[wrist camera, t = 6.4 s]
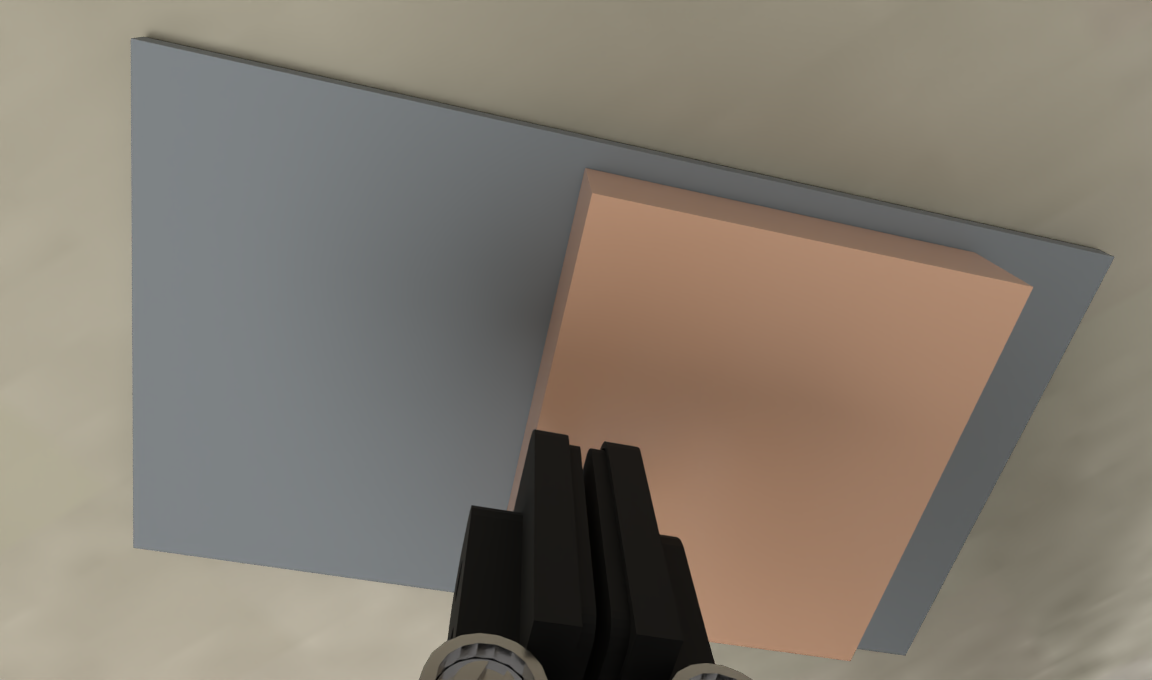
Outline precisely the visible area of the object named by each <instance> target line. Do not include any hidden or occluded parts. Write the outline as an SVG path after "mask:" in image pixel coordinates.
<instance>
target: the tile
mask: <svg viewBox="0 0 1152 680" xmlns="http://www.w3.org/2000/svg"><path fill="white" fill-rule="evenodd" d="M1032 289H1033V287H1032V286H1031V285H1029V284H1027V283H1026V282H1024V281H1022V280H1021V279H1019V278H1017V277H1015V276H1014V275H1012V274H1010V273H1009V272H1007V271H1005V270H1004V269H1002V268H1000V267H999V266H997V265H995V264H993V263H992V262H990V261H988V260H987V259H985V258H983V257H982V256H980V255H978V254H976V253H975V252H970V251H966V250H961V249H957V248H952V247H947V246H943V245H938V244H933V243H929V242H924V241H920V240H915V239H910V238H906V237H901V236H897V235H892V234H887V233H883V232H878V231H874V230H869V229H864V228H860V227H855V226H851V225H846V224H841V223H837V222H832V221H828V220H823V219H818V218H814V217H809V216H805V215H800V214H795V213H791V212H786V211H782V210H777V209H772V208H768V207H763V206H759V205H754V204H749V203H745V202H740V201H736V200H731V199H726V198H722V197H717V196H713V195H708V194H703V193H699V192H694V191H689V190H685V189H680V188H676V187H671V186H666V185H662V184H657V183H653V182H648V181H643V180H639V179H634V178H630V177H625V176H620V175H616V174H611V173H607V172H602V171H597V170H593V169H588V168H585V170H584V175H583V179H582V184H581V188H580V192H579V197H578V201H577V205H576V210H575V214H574V219H573V223H572V227H571V232H570V236H569V240H568V245H567V249H566V254H565V258H564V262H563V267H562V271H561V276H560V280H559V284H558V289H557V293H556V297H555V302H554V306H553V311H552V315H551V319H550V324H549V328H548V332H547V337H546V341H545V346H544V350H543V354H542V359H541V363H540V367H539V372H538V376H537V381H536V385H535V389H534V394H533V398H532V402H531V407H530V411H529V416H528V420H527V424H526V429H525V433H524V438H523V442H522V446H521V451H520V455H519V459H518V464H517V468H516V473H515V477H514V481H513V486H512V490H511V494H510V499H509V503H508V508H507V511H514V506H515V502H516V498H517V493H518V489H519V485H520V480H521V476H522V472H523V468H524V463H525V459H526V455H527V450H528V446H529V442H530V438H531V434H532V431H533V430H534V429H536V430H542V431H547V432H553V433H559V434H565V435H568V436H569V445H575V446H580V448H581V457H582V467H583V466H584V463H585V459H586V456H587V452H588V450H589V449H590V448H593V449H599V450H600V448H601V446H602V444H603V442H604V441H606V442H612V443H618V444H624V445H630V446H636V447H639V448H640V451H641V455H642V459H643V464H644V468H645V473H646V477H647V481H648V486H649V490H650V494H651V499H652V503H653V508H654V512H655V516H656V521H657V525H658V530H659V534H661V535H668V536H674V537H678V538H679V539H680V540H681V542H682V544H683V546H684V550H685V554H686V557H687V561H688V565H689V569H690V573H691V576H692V580H693V584H694V588H695V591H696V595H697V599H698V603H699V606H700V610H701V614H702V618H703V621H704V625H705V629H706V633H707V636H708V640H709V642H715V643H722V644H729V645H737V646H744V647H751V648H759V649H766V650H773V651H780V652H788V653H795V654H802V655H809V656H817V657H824V658H831V659H839V660H846V661H851V659H852V657H853V655H854V653H855V651H856V649H857V647H858V645H859V643H860V641H861V638H862V636H863V634H864V632H865V630H866V628H867V626H868V624H869V622H870V620H871V618H872V616H873V614H874V612H875V610H876V608H877V606H878V604H879V602H880V600H881V598H882V596H883V594H884V591H885V589H886V587H887V585H888V583H889V581H890V579H891V577H892V575H893V573H894V571H895V569H896V567H897V565H898V563H899V561H900V559H901V557H902V555H903V553H904V551H905V549H906V547H907V544H908V542H909V540H910V538H911V536H912V534H913V532H914V530H915V528H916V526H917V524H918V522H919V520H920V518H921V516H922V514H923V512H924V510H925V508H926V506H927V504H928V502H929V500H930V497H931V495H932V493H933V491H934V489H935V487H936V485H937V483H938V481H939V479H940V477H941V475H942V473H943V471H944V469H945V467H946V465H947V463H948V461H949V459H950V457H951V455H952V452H953V450H954V448H955V446H956V444H957V442H958V440H959V438H960V436H961V434H962V432H963V430H964V428H965V426H966V424H967V422H968V420H969V418H970V416H971V414H972V412H973V410H974V408H975V405H976V403H977V401H978V399H979V397H980V395H981V393H982V391H983V389H984V387H985V385H986V383H987V381H988V379H989V377H990V375H991V373H992V371H993V369H994V367H995V365H996V363H997V361H998V358H999V356H1000V354H1001V352H1002V350H1003V348H1004V346H1005V344H1006V342H1007V340H1008V338H1009V336H1010V334H1011V332H1012V330H1013V328H1014V326H1015V324H1016V322H1017V320H1018V318H1019V316H1020V314H1021V311H1022V309H1023V307H1024V305H1025V303H1026V301H1027V299H1028V297H1029V295H1030V293H1031V291H1032Z"/></svg>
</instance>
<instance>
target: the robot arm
mask: <svg viewBox="0 0 1152 680" xmlns="http://www.w3.org/2000/svg"><path fill="white" fill-rule="evenodd" d="M419 680H752V679H751V678H749V677H747V676H746V675H744V674H743V673H741V672H739V671H736V670H734V669H731V668H728V667H726V666H723V665H716V664H715V663H714V659H713V655H712V652H711V648H710V644H709V640H708V636H707V633H706V629H705V625H704V621H703V618H702V614H701V610H700V606H699V603H698V599H697V595H696V591H695V588H694V584H693V580H692V576H691V573H690V569H689V565H688V561H687V557H686V554H685V550H684V546H683V544H682V542H681V540H680V539H679V538H678V537H674V536H668V535H661V534H659V530H658V525H657V521H656V516H655V512H654V508H653V503H652V499H651V494H650V490H649V486H648V481H647V477H646V473H645V468H644V464H643V459H642V455H641V451H640V448H639V447H636V446H630V445H624V444H618V443H612V442H606V441H604V442H603V444H602V446H601V448H600V450H599V449H593V448H590V449H589V450H588V452H587V456H586V459H585V463H584V466H583V467H582V457H581V448H580V446H575V445H569V436H568V435H565V434H559V433H553V432H547V431H542V430H536V429H534V430H533V431H532V434H531V438H530V442H529V446H528V450H527V455H526V459H525V463H524V468H523V472H522V476H521V480H520V485H519V489H518V493H517V498H516V502H515V506H514V511H506V510H500V509H494V508H487V507H481V506H474V505H472V506H471V508H470V512H469V517H468V522H467V526H466V531H465V536H464V541H463V546H462V551H461V556H460V562H459V567H458V573H457V578H456V584H455V591H454V597H453V604H452V611H451V618H450V625H449V633H448V640H447V641H446V642H444V643H443V644H442V645H441V646H440V647H438V648H437V649H436V650H435V651H433V652H432V654H431V655H430V657H429V659H428V660H427V662H426V664H425V665H424V667H423V670H422V673H421V676H420V678H419Z"/></svg>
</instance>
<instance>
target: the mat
mask: <svg viewBox="0 0 1152 680" xmlns="http://www.w3.org/2000/svg"><path fill="white" fill-rule="evenodd" d="M131 164H132V356H133V548H139V549H147V550H154V551H161V552H168V553H175V554H182V555H190V556H197V557H204V558H211V559H218V560H225V561H232V562H240V563H247V564H254V565H261V566H268V567H275V568H283V569H290V570H297V571H304V572H311V573H318V574H325V575H333V576H340V577H347V578H354V579H361V580H368V581H376V582H383V583H390V584H397V585H404V586H411V587H419V588H426V589H433V590H440V591H447V592H454V591H455V584H456V578H457V573H458V567H459V562H460V556H461V551H462V546H463V541H464V536H465V531H466V526H467V522H468V517H469V512H470V508H471V506H472V505H474V506H481V507H487V508H494V509H500V510H506V511H507V508H508V503H509V499H510V494H511V490H512V486H513V481H514V477H515V473H516V468H517V464H518V459H519V455H520V451H521V446H522V442H523V438H524V433H525V429H526V424H527V420H528V416H529V411H530V407H531V402H532V398H533V394H534V389H535V385H536V381H537V376H538V372H539V367H540V363H541V359H542V354H543V350H544V346H545V341H546V337H547V332H548V328H549V324H550V319H551V315H552V311H553V306H554V302H555V297H556V293H557V289H558V284H559V280H560V276H561V271H562V267H563V262H564V258H565V254H566V249H567V245H568V240H569V236H570V232H571V227H572V223H573V219H574V214H575V210H576V205H577V201H578V197H579V192H580V188H581V184H582V179H583V175H584V170H585V168H588V169H593V170H597V171H602V172H607V173H611V174H616V175H620V176H625V177H630V178H634V179H639V180H643V181H648V182H653V183H657V184H662V185H666V186H671V187H676V188H680V189H685V190H689V191H694V192H699V193H703V194H708V195H713V196H717V197H722V198H726V199H731V200H736V201H740V202H745V203H749V204H754V205H759V206H763V207H768V208H772V209H777V210H782V211H786V212H791V213H795V214H800V215H805V216H809V217H814V218H818V219H823V220H828V221H832V222H837V223H841V224H846V225H851V226H855V227H860V228H864V229H869V230H874V231H878V232H883V233H887V234H892V235H897V236H901V237H906V238H910V239H915V240H920V241H924V242H929V243H933V244H938V245H943V246H947V247H952V248H957V249H961V250H966V251H970V252H975V253H976V254H978V255H980V256H982V257H983V258H985V259H987V260H988V261H990V262H992V263H993V264H995V265H997V266H999V267H1000V268H1002V269H1004V270H1005V271H1007V272H1009V273H1010V274H1012V275H1014V276H1015V277H1017V278H1019V279H1021V280H1022V281H1024V282H1026V283H1027V284H1029V285H1031V286H1032V287H1033V289H1032V291H1031V293H1030V295H1029V297H1028V299H1027V301H1026V303H1025V305H1024V307H1023V309H1022V311H1021V314H1020V316H1019V318H1018V320H1017V322H1016V324H1015V326H1014V328H1013V330H1012V332H1011V334H1010V336H1009V338H1008V340H1007V342H1006V344H1005V346H1004V348H1003V350H1002V352H1001V354H1000V356H999V358H998V361H997V363H996V365H995V367H994V369H993V371H992V373H991V375H990V377H989V379H988V381H987V383H986V385H985V387H984V389H983V391H982V393H981V395H980V397H979V399H978V401H977V403H976V405H975V408H974V410H973V412H972V414H971V416H970V418H969V420H968V422H967V424H966V426H965V428H964V430H963V432H962V434H961V436H960V438H959V440H958V442H957V444H956V446H955V448H954V450H953V452H952V455H951V457H950V459H949V461H948V463H947V465H946V467H945V469H944V471H943V473H942V475H941V477H940V479H939V481H938V483H937V485H936V487H935V489H934V491H933V493H932V495H931V497H930V500H929V502H928V504H927V506H926V508H925V510H924V512H923V514H922V516H921V518H920V520H919V522H918V524H917V526H916V528H915V530H914V532H913V534H912V536H911V538H910V540H909V542H908V544H907V547H906V549H905V551H904V553H903V555H902V557H901V559H900V561H899V563H898V565H897V567H896V569H895V571H894V573H893V575H892V577H891V579H890V581H889V583H888V585H887V587H886V589H885V591H884V594H883V596H882V598H881V600H880V602H879V604H878V606H877V608H876V610H875V612H874V614H873V616H872V618H871V620H870V622H869V624H868V626H867V628H866V630H865V632H864V634H863V636H862V638H861V641H860V643H859V645H858V647H857V649H862V650H869V651H876V652H884V653H891V654H898V655H906V653H907V651H908V649H909V648H910V646H911V644H912V642H913V640H914V638H915V636H916V634H917V632H918V630H919V628H920V627H921V625H922V623H923V621H924V619H925V617H926V615H927V613H928V611H929V609H930V608H931V606H932V604H933V602H934V600H935V598H936V596H937V594H938V592H939V590H940V589H941V587H942V585H943V583H944V581H945V579H946V577H947V575H948V573H949V571H950V569H951V568H952V566H953V564H954V562H955V560H956V558H957V556H958V554H959V552H960V550H961V549H962V547H963V545H964V543H965V541H966V539H967V537H968V535H969V533H970V531H971V529H972V528H973V526H974V524H975V522H976V520H977V518H978V516H979V514H980V512H981V510H982V509H983V507H984V505H985V503H986V501H987V499H988V497H989V495H990V493H991V491H992V489H993V488H994V486H995V484H996V482H997V480H998V478H999V476H1000V474H1001V472H1002V470H1003V469H1004V467H1005V465H1006V463H1007V461H1008V459H1009V457H1010V455H1011V453H1012V451H1013V449H1014V448H1015V446H1016V444H1017V442H1018V440H1019V438H1020V436H1021V434H1022V432H1023V430H1024V429H1025V427H1026V425H1027V423H1028V421H1029V419H1030V417H1031V415H1032V413H1033V411H1034V410H1035V408H1036V406H1037V404H1038V402H1039V400H1040V398H1041V396H1042V394H1043V392H1044V390H1045V389H1046V387H1047V385H1048V383H1049V381H1050V379H1051V377H1052V375H1053V373H1054V371H1055V370H1056V368H1057V366H1058V364H1059V362H1060V360H1061V358H1062V356H1063V354H1064V352H1065V350H1066V349H1067V347H1068V345H1069V343H1070V341H1071V339H1072V337H1073V335H1074V333H1075V331H1076V330H1077V328H1078V326H1079V324H1080V322H1081V320H1082V318H1083V316H1084V314H1085V312H1086V310H1087V309H1088V307H1089V305H1090V303H1091V301H1092V299H1093V297H1094V295H1095V293H1096V291H1097V290H1098V288H1099V286H1100V284H1101V282H1102V280H1103V278H1104V276H1105V274H1106V272H1107V270H1108V269H1109V267H1110V265H1111V263H1112V261H1113V259H1114V256H1111V255H1109V254H1107V253H1105V252H1103V251H1100V250H1098V249H1094V248H1089V247H1085V246H1080V245H1076V244H1071V243H1067V242H1062V241H1058V240H1053V239H1049V238H1044V237H1040V236H1035V235H1031V234H1026V233H1022V232H1017V231H1013V230H1008V229H1004V228H999V227H995V226H990V225H986V224H981V223H977V222H972V221H968V220H963V219H959V218H955V217H950V216H946V215H941V214H937V213H932V212H928V211H923V210H919V209H914V208H910V207H905V206H901V205H896V204H892V203H887V202H883V201H878V200H874V199H869V198H865V197H860V196H856V195H851V194H847V193H842V192H838V191H833V190H829V189H824V188H820V187H815V186H811V185H806V184H802V183H798V182H793V181H789V180H784V179H780V178H775V177H771V176H766V175H762V174H757V173H753V172H748V171H744V170H739V169H735V168H730V167H726V166H721V165H717V164H712V163H708V162H703V161H699V160H694V159H690V158H685V157H681V156H676V155H672V154H667V153H663V152H658V151H654V150H649V149H645V148H640V147H636V146H632V145H627V144H623V143H618V142H614V141H609V140H605V139H600V138H596V137H591V136H587V135H582V134H578V133H573V132H569V131H564V130H560V129H555V128H551V127H546V126H542V125H537V124H533V123H528V122H524V121H519V120H515V119H510V118H506V117H501V116H497V115H492V114H488V113H483V112H479V111H475V110H470V109H466V108H461V107H457V106H452V105H448V104H443V103H439V102H434V101H430V100H425V99H421V98H416V97H412V96H407V95H403V94H398V93H394V92H389V91H385V90H380V89H376V88H371V87H367V86H362V85H358V84H353V83H349V82H344V81H340V80H335V79H331V78H326V77H322V76H318V75H313V74H309V73H304V72H300V71H295V70H291V69H286V68H282V67H277V66H273V65H268V64H264V63H259V62H255V61H250V60H246V59H241V58H237V57H232V56H228V55H223V54H219V53H214V52H210V51H205V50H201V49H196V48H192V47H187V46H183V45H178V44H174V43H169V42H165V41H160V40H156V39H152V38H147V37H139V38H131Z"/></svg>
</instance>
